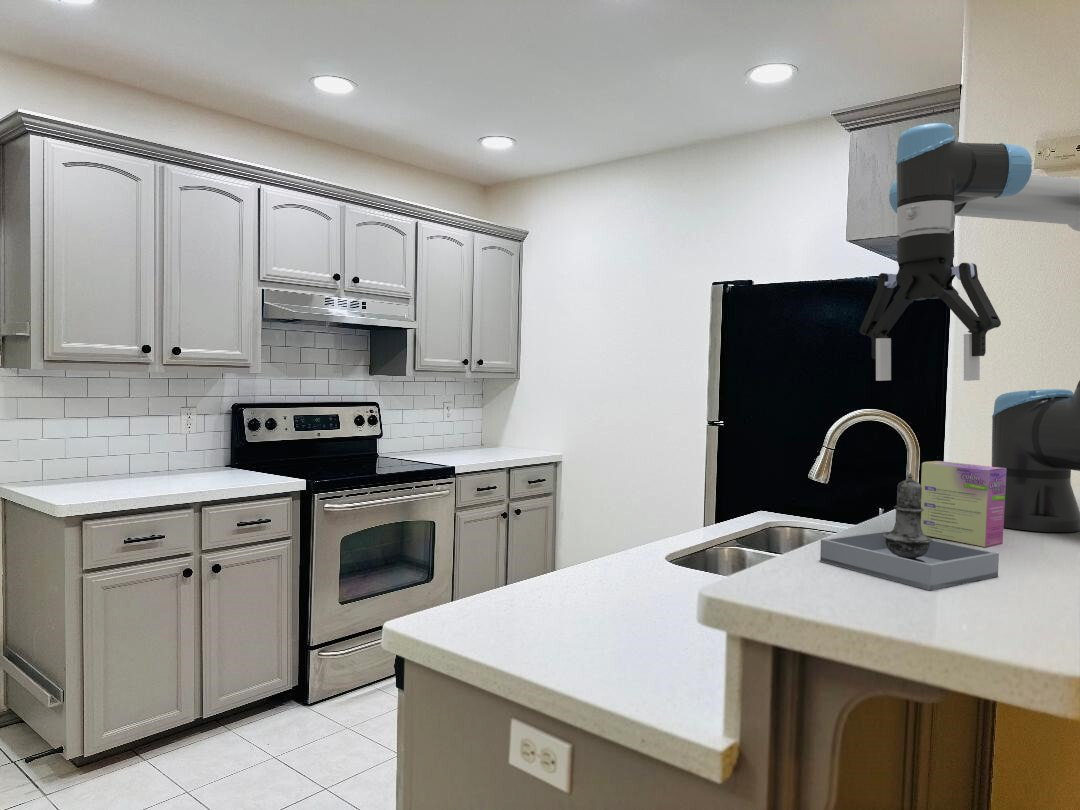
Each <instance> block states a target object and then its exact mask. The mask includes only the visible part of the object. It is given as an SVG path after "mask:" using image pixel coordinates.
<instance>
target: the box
mask: <svg viewBox="0 0 1080 810" xmlns="http://www.w3.org/2000/svg"><path fill="white" fill-rule="evenodd" d="M920 475H921V477H920V478H921V479H920V485H921V487H922V495H921V508H923V509H924V511H922V512H921V528H922V532H923V534H924V535H925V536H927V537H930V538H932V537H933V538H938V539H943V540H948V541H951V542H957V543H962V544H967V545H970V546H971V545H972V546H976V547H980V548H989V547H994V546H998V545H1002V544H1003V543H1004V529H1005V527H1004V510H1005V491H1006V468H999V467H992V466H990V465H989V466H988V465H987V466H986V465H980V464H971V463H969V464H968V463H959V462H951V461H944V460H943V461H942V460H933V461H932V460H931V461H923V462H922V463H921V474H920Z"/></svg>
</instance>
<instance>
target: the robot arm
mask: <svg viewBox="0 0 1080 810" xmlns="http://www.w3.org/2000/svg"><path fill="white" fill-rule="evenodd" d="M956 138H957V137H956V136H955V129H954V127H953V126H952V125H951V124H947V123H944V122H943V123H942V122H935V123H934V122H931V123H925V124H920V125H916V126H913V127H912V126H911V127H910V128H907V129H906V130H904V131H903V132H902V133H901V134H900V135H899V137H898V140H897V147H896V160H895V165H896V179H895V180H894V181H893V183H892V184H891V185H890V189H889V195H888V197H889V198H888V199H889V201H888V202H889V204H890V207H891V209H892V210H893V211H894V213H896V220H897V222H896V223H897V224H896V227H897V228H896V229H897V231H896V234H897V235H898V236H900V237H901V238H898V240H897V242H896V262H897V264H898V271H897V272H896V274H895V273H887V272H886V273H885V272H881V273H879V274H878V277H877V284H876V285H877V287H876V290H875V292H874V295H873V296H872V299H871V302H870V304H869V307H868V309H867V311H866V313H865V315H864V319H863V320H862V323H861V325H860V327H859V333H860V335H863V336H866V337H869V338H870V339H871V358H872V360H875V381H876V382H877V381H879V382H880V381H881V382H882V381H892V338H891V337H890V338H889V336H887V335H888V334H889V332H890V331H891V330H892V328H893V327H894V326H895V324H896V323H897V321H898V320H899V318H900V317H902V315H903V313H904V312H905V311H906V309H908V307H909V306H910V304H912V303H913V302H914V301H925V300H927V299H931V300H932V299H933V300H935V299H936V300H937V299H940V300H941V301H942V302H944V303H945V305H946V306H947V308H949V309H950V311H951V312H952V313H953V314H954V315H955V316H956V317H957V318H958V319H959V321H960V322H961V323H962V324H963V325H964V327H966V329H968V330H967V333H964V334H963V382H964V381H968V382H969V381H973V382H974V381H980V380H981V379H980V378H981V377H980V374H981V373H980V370H981V368H980V365H981V364H980V361H981V360H980V359H981V358H980V357H985V355H986V353H987V352H986V350H987V348H986V347H987V343H986V342H987V341H986V340H987V338H986V337H987V333H988V332H989V331H990V330H992V329H998V328H999V327H1000V326H1002V321H1001V319H1000V317H999V316H998V314H997V312H996V310H995V308H994V306H993V304H992V302H991V300H990V298H989V297H988V295H987V293H986V291H985V289H984V287H983V285H982V283H981V281H980V279H979V276H978V275H979V274H978V266H977V264H976V263H974V262H972V263H970V262H961V263H960V264H959V265H955V264H954V262H953V261H954V260H955V259H954V258H955V236H954V235H953V234H952V233H951V232H953V231H954V230H955V217H956V216H957V217H966V218H967V217H970V218H980V219H981V218H982V219H984V218H985V219H995V220H996V219H997V220H1007V221H1008V220H1009V221H1019V222H1020V221H1022V222H1033V223H1034V222H1036V223H1044V224H1045V223H1047V224H1059V225H1067V226H1068V227H1069V228H1071V229H1072V230H1074V231H1077V232H1080V178H1071V177H1070V178H1069V177H1060V176H1049V175H1048V176H1047V175H1037V174H1032V173H1033V172H1032V171H1033V168H1032V166H1033V164H1032V162H1033V159H1032V156H1031V154H1030V152H1029V151H1028V150H1027V149H1026V147H1023V146H1021V145H1017V144H1008V143H1004V142H1000V143H989V142H988V143H987V142H986V143H983V142H982V143H981V142H963V141H962V142H961V141H956ZM954 265H955V266H954ZM955 277H956V278H957V280H958V281H959V280H960V283H961V285H962V288H963V289H964V291H965V294H966V295H967V297H968V298H969V301H970V303H971V305H972V306H973V308H974V310H975V312H976V313H975V312H974V310H973V309H972V308H971V307H970V305H969V304H968V303H967V302H966V301H965V300H964V299H963V298H962V297H961V296H960V295H959V291H957V289H956V288H955V287H954V286H953V285H952V282H953V281H954V279H955ZM897 286H899V288H898V290H897V291H896V293H895V295H894V296H893V300H892V301H891V303H890V304H889V306H888V303H889V301H890V299H891V297H892V295H893V292H894V288H895V287H897ZM887 306H888V307H887ZM991 417H992V418H991V420H992V425H991V429H992V430H991V433H992V435H991V467H999V468H1006V491H1005V510H1004V529H1005V528H1007V529H1012V530H1020V531H1022V530H1023V531H1030V532H1041V533H1042V532H1043V533H1070V532H1071V533H1072V532H1073V533H1074V532H1078V531H1080V508H1079V504H1078V502H1077V500H1076V496H1075V493H1074V489H1073V487H1072V483H1071V482H1072V481H1071V476H1072V471H1077V472H1080V379H1079V380H1078V383H1077V385H1076V387H1075V390H1074V392H1073V391H1072V390H1070V389H1065V388H1064V389H1061V388H1057V389H1055V388H1053V389H1052V388H1051V389H1049V388H1048V389H1035V390H1019V391H1018V390H1017V391H1011V392H1005V393H1002V394H1000V395H998V396H997V398H995V400H994V406H993V413H992V416H991Z"/></svg>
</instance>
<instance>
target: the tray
mask: <svg viewBox="0 0 1080 810" xmlns="http://www.w3.org/2000/svg"><path fill="white" fill-rule="evenodd" d="M891 531H892V530H882V531H881V530H880V531H874V532H873V531H872V532H867V533H858V534H851V535H845V536H844V535H843V536H836V537H831V538H822V539H820V552H819V553H820V555H819V556H820V558H819V559H820V560H819V562H821V563H826V564H828V565H832V566H836V567H840V568H843V569H847V570H852V571H855V572H859V573H863V574H866V575H869V576H874V577H877V578H881V579H885V580H889V581H892V582H895V583H896V582H897V583H900V584H903V585H907V586H911V587H915V588H919V589H922V590H925V591H936V590H940V589H945V588H946V589H947V588H950V587H955V586H959V584H960V585H964V584H963V583H965V584H967V583H966V582H970V583H973V582H972V581H975V582H978V581H977V580H980V581H983V580H982V579H984V580H987V579H988V578H989V579H992V577H994V578H998V577H999V564H1000V563H999V560H1000V559H999V556H1000V553H999V552H995V551H990V550H985V549H981V548H975V547H970V546H965V545H961V544H960V545H959V544H956V543H950V542H946V541H941V540H937V539H932V540H933V541H932V542H930V547H929V549H928V551H927V553H926V554H924V555H923V556H922V557H917V558H916V559H920V560H923V561H924V562H925V563H924V562H919V561H915V560H911V559H907V558H902V557H898V556H897V555H895V554H893V553H891V552H890V550H889V549H888V548H887V545H886V542H885V541H886V538H884V536H883V535H884V534H885V533H889V532H891ZM989 579H988V580H989Z"/></svg>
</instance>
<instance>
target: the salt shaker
mask: <svg viewBox="0 0 1080 810" xmlns="http://www.w3.org/2000/svg"><path fill="white" fill-rule="evenodd" d="M906 477H907V479H905V480H902V481H901V482H899V483H898V485H897V490H896V494H897V495H896V505H894V506H893V509H894V510H895V522H894V527H893V529H892V530H890V531H891V532H889V533H885V534H884V535H883V536H884V538H886V541H885V542H886V545H887V548H888V549H889V550H890V552H891V553H893V554H895V555H897V556H898V557H902V558H907V559H911V560H915V561H919V562H924V561H923V560H920V559H916V558H917V557H922V556H923V555H924V554H926V553H927V551H928V549H929V547H930V542H932V541H933V540H934V539H932V537H931V536H926V535H924V534H923V532H922V528H921V512H922V511H924V509H923V508H921V495H922V487H921V483H919V482H918V481H915V479H913V477H914V476H913V475H912V473H911V472H910V473H909V474H908V475H906ZM924 563H925V562H924Z"/></svg>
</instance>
